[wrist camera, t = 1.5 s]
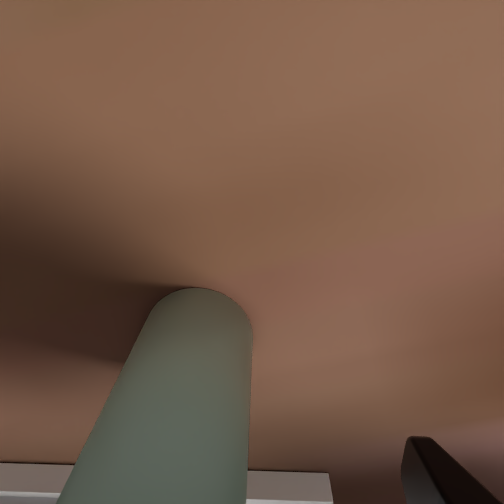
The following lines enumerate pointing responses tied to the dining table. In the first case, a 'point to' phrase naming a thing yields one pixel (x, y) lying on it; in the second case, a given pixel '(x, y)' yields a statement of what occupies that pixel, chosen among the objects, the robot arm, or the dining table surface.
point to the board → (257, 500)
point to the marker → (174, 411)
